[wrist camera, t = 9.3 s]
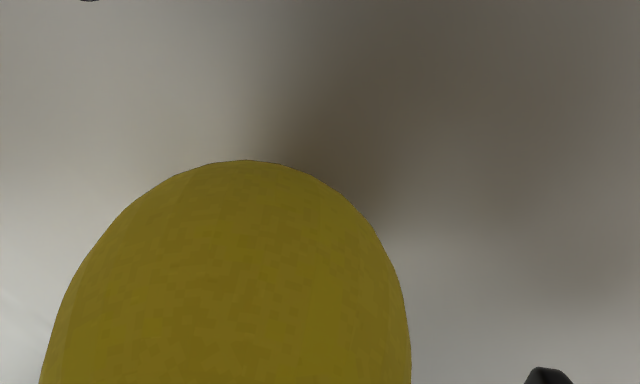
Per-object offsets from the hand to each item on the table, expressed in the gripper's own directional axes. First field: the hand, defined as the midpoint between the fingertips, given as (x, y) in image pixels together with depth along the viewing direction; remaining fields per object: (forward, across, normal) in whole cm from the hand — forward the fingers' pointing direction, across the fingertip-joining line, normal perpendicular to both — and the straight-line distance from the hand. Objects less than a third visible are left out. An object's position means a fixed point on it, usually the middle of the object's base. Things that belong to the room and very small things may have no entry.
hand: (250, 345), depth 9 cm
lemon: (+4, 0, 0) cm, 4 cm away
